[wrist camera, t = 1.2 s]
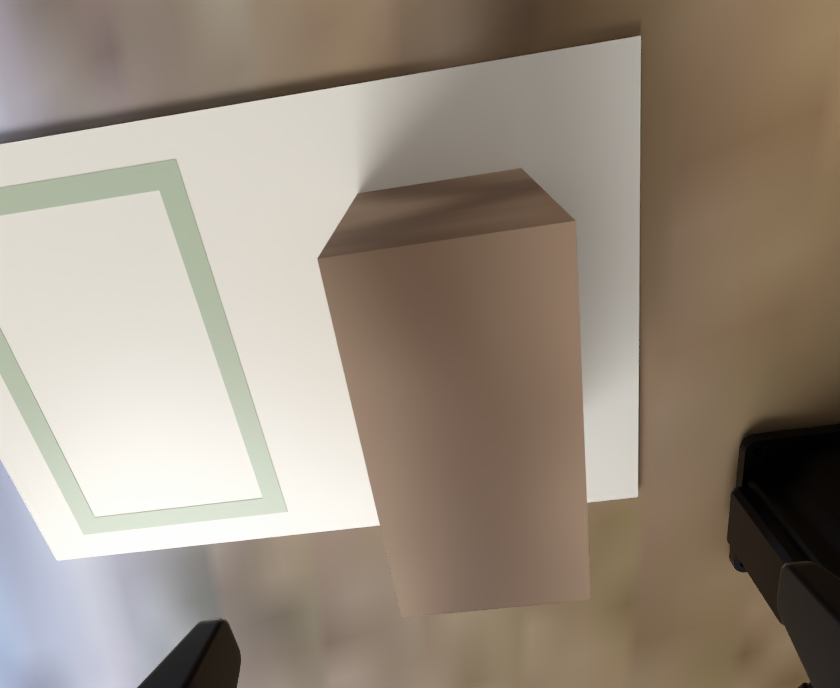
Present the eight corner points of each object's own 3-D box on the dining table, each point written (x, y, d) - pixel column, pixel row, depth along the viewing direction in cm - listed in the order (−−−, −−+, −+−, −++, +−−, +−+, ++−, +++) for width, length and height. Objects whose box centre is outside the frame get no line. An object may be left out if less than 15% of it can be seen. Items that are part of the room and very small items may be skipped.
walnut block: (521, 168, 17) (575, 220, 11) (542, 444, 21) (590, 599, 15) (357, 193, 18) (316, 258, 11) (409, 459, 22) (401, 617, 15)
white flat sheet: (637, 36, 16) (641, 35, 16) (635, 491, 23) (637, 497, 22) (-151, 169, 18) (-161, 171, 17) (61, 555, 24) (56, 560, 24)
